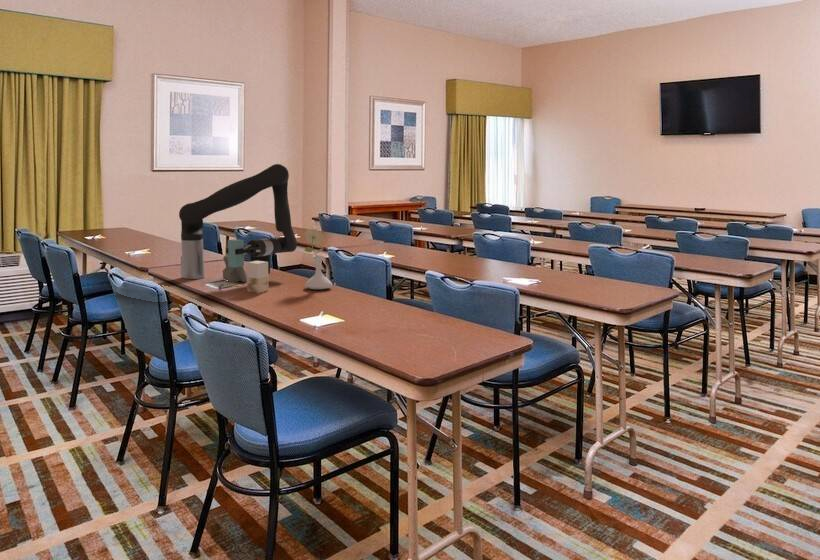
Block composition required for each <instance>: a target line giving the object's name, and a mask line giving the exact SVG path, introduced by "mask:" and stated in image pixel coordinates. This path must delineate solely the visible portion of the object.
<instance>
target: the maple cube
mask: <svg viewBox="0 0 820 560" xmlns="http://www.w3.org/2000/svg"><path fill="white" fill-rule="evenodd" d="M269 278H270V277H269V276H268V277H263V278H250V277H247V282H246V289H247V290H246V291H250V292H249V293H252V292H256V293H255V294H262V293H265V291H267V292H269V291H270V290H269V289H270V287H269V284H270V282H269V281H270V280H269ZM261 292H262V293H261Z"/></svg>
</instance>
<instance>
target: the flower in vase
mask: <svg viewBox="0 0 820 560" xmlns="http://www.w3.org/2000/svg"><path fill="white" fill-rule="evenodd" d="M303 237H304V238H305V240H306V242H307V243H309V244H311V247H310V246H307V247H305V249H304V250H303V251H305V252H308V253H312V252H314V254H315V255H312V258H313V259H314V264H315V272H314V274H313V276H311V277H310V278H309V279H308V280H307V281H306V282H305V283H304V287H306V288H307V289H309V290H326V289H329V288H332V286H333V282H332V281H331V280H330V279H328V278H327V277H326V276H325V275H324V274H323V272H322V264H323V263H322V262H323V259H324V258H325V255H323V254H322V255H321V254H320V255H319V254H317V253H320V252H322V251H323V250H324V249H325V247H323V248H320V249H318V250H317V251H316V250H315V249H314V245H319V244H322V243H323V241H324V235H323V234H322V232H321V231H320V230H318V229H316V228H308V229H306V231H304V234H303Z"/></svg>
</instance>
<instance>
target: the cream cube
mask: <svg viewBox="0 0 820 560" xmlns="http://www.w3.org/2000/svg"><path fill="white" fill-rule="evenodd" d="M246 275H247V277H250V278H263V277H268V278H269V274H268V262H265V261H252V262H251V261H246Z"/></svg>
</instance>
